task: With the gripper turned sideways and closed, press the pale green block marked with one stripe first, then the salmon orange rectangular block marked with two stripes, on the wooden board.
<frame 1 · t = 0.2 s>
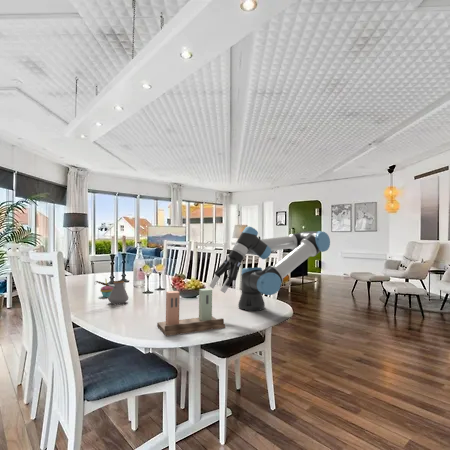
hand: (216, 289, 149), 15 cm above the table, tool tilted 35°, fingers open, 13 cm apart
salmon orange rectangular block: (172, 307, 135), point 9 cm above the table, slide at 0.0 cm
pale green block: (205, 304, 142), point 9 cm above the table, slide at 0.0 cm
wooden board: (191, 326, 136), on the table
cupcake: (107, 296, 199), on the table
coffee pot: (111, 304, 177), on the table
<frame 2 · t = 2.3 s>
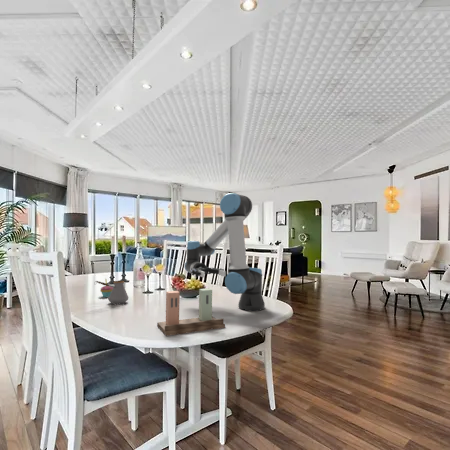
hand: (214, 274, 152), 22 cm above the table, tool horizontal, fingers open, 11 cm apart
nothing on the table moved.
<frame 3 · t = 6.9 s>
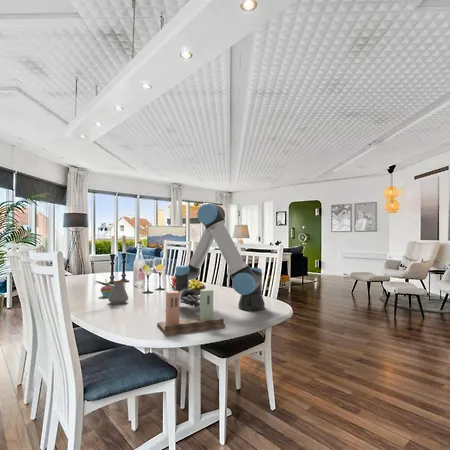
hand: (203, 305, 143), 8 cm above the table, tool horizontal, fingers closed
pale green block: (206, 305, 141), point 9 cm above the table, slide at 1.3 cm, touching gripper
everything else where it was.
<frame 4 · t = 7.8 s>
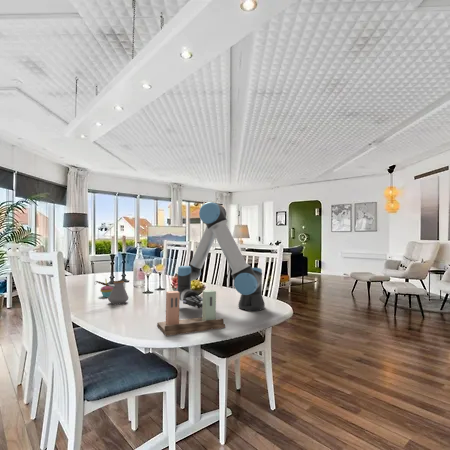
hand: (206, 307, 140), 8 cm above the table, tool horizontal, fingers closed
pale green block: (209, 306, 138), point 9 cm above the table, slide at 4.3 cm, touching gripper
everything else where it was.
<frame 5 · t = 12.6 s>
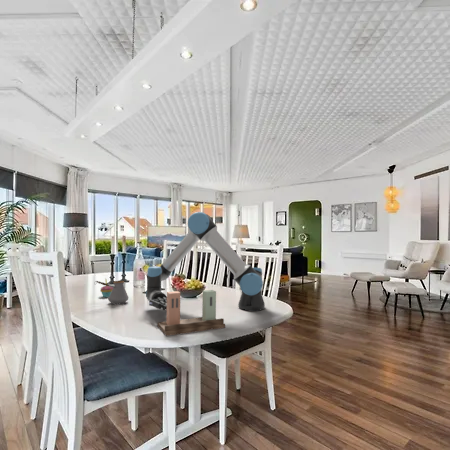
hand: (170, 309, 136), 8 cm above the table, tool horizontal, fingers closed
salmon orange rectangular block: (173, 308, 134), point 9 cm above the table, slide at 1.2 cm, touching gripper
pale green block: (209, 306, 138), point 9 cm above the table, slide at 4.3 cm
everything else where it was.
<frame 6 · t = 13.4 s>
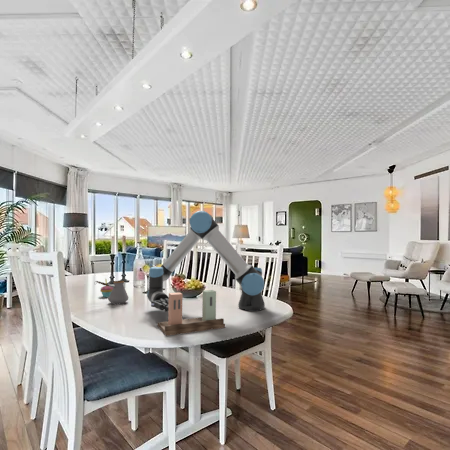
hand: (173, 310, 133), 8 cm above the table, tool horizontal, fingers closed
salmon orange rectangular block: (175, 309, 131), point 9 cm above the table, slide at 4.1 cm, touching gripper
everything else where it was.
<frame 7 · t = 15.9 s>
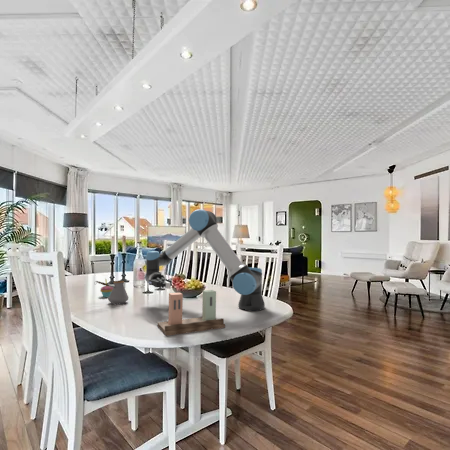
hand: (169, 285, 148), 16 cm above the table, tool horizontal, fingers closed
salmon orange rectangular block: (175, 309, 131), point 9 cm above the table, slide at 4.3 cm
everything else where it was.
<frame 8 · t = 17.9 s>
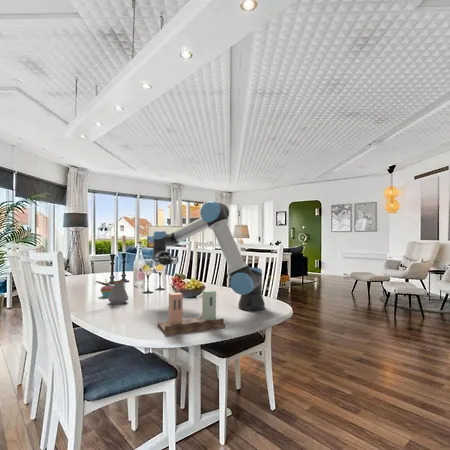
hand: (176, 261, 152), 28 cm above the table, tool horizontal, fingers closed
nothing on the table moved.
at the end: pale green block slide at 4.3 cm; salmon orange rectangular block slide at 4.3 cm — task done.
